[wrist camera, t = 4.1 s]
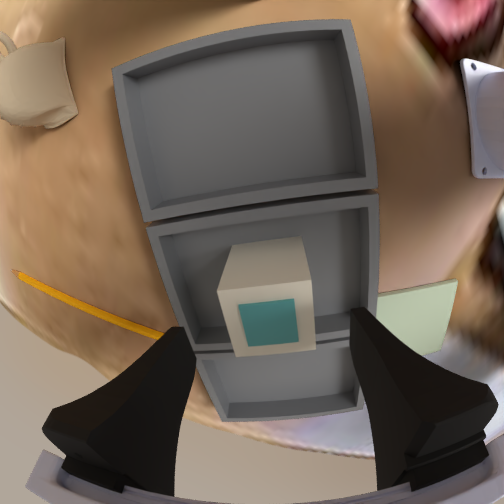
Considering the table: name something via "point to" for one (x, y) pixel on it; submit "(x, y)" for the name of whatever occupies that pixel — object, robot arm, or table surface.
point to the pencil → (89, 308)
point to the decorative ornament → (35, 84)
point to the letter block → (268, 298)
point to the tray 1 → (247, 118)
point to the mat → (418, 314)
